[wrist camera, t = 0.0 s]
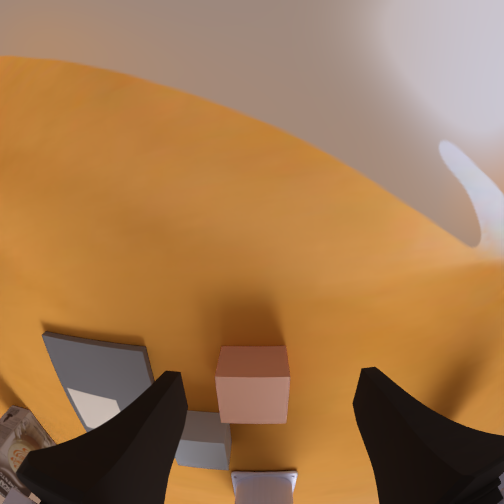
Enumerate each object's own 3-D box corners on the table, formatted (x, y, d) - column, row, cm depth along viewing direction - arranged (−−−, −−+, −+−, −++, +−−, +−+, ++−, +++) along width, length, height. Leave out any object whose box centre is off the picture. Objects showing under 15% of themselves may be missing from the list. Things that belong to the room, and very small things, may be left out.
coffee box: (60, 448, 28) (24, 511, 13) (39, 440, 29) (3, 497, 13) (29, 409, 26) (-20, 473, 11) (10, 403, 27) (-36, 459, 11)
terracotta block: (283, 390, 22) (286, 423, 18) (226, 390, 22) (221, 422, 19) (285, 344, 21) (290, 376, 17) (221, 344, 21) (214, 376, 17)
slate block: (231, 441, 24) (228, 470, 21) (185, 437, 25) (178, 465, 21) (228, 412, 23) (224, 443, 19) (177, 408, 23) (167, 437, 19)
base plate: (178, 453, 25) (176, 458, 25) (92, 434, 26) (90, 438, 25) (145, 346, 21) (142, 351, 21) (45, 331, 22) (41, 334, 21)
